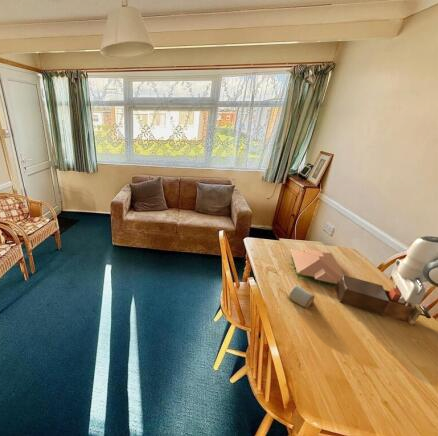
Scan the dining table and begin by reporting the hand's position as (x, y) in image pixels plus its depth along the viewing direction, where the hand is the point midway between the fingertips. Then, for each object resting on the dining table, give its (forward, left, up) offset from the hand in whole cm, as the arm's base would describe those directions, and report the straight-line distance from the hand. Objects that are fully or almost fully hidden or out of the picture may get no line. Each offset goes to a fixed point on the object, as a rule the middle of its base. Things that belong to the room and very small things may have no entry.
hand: (398, 297), depth 99 cm
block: (0, 0, -2) cm, 2 cm away
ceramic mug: (+34, +13, -9) cm, 38 cm away
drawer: (-1, 0, -8) cm, 8 cm away
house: (+27, -21, -9) cm, 36 cm away
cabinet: (+11, 0, -9) cm, 15 cm away
